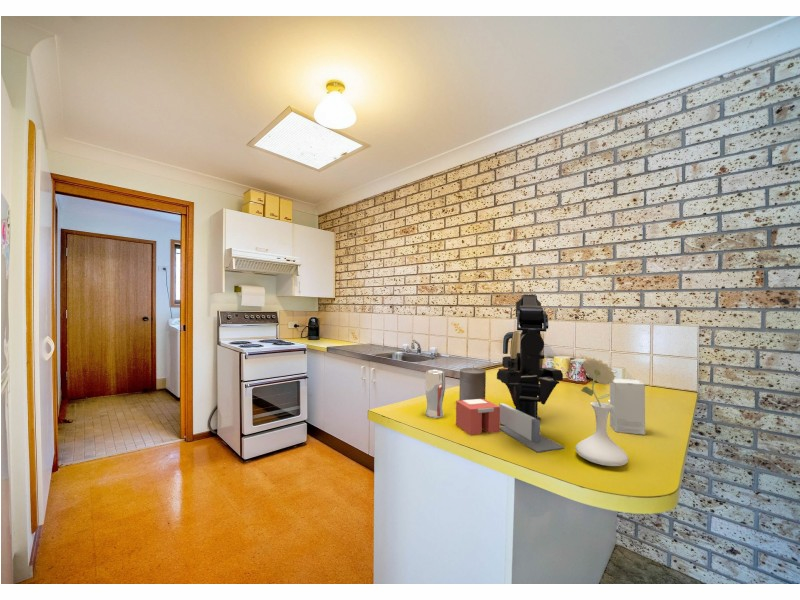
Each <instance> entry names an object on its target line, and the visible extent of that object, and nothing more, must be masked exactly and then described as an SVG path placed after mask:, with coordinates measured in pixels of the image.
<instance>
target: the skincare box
mask: <svg viewBox="0 0 800 600" xmlns="http://www.w3.org/2000/svg"><path fill="white" fill-rule="evenodd" d="M612 381H613V382H614V383H610V384H609V394H611V393H612V394H611V395H609V399H610V402H609V404H610V405H612V406H613V408H612V409H611V410H610V412H609V426H610V427H611V429H612V430H613V431H614V432H616V433H621V434H622V433H625V434H631V435H632V434H634V435H641V436H643V435H644V436H645V435H646V383H644V382H643V381H641V380H639V379H628V378H616V377H614V380H612Z"/></svg>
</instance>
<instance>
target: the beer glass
mask: <svg viewBox="0 0 800 600" xmlns="http://www.w3.org/2000/svg"><path fill="white" fill-rule="evenodd" d="M424 389H425V397H426V399H425V400H426V409H425V410H426V411H425V416H426V417H428V418H430V419H440V418H443V417H444V410H443V402H444V397H445V392H446V371H444V370H442V369H441V370H440V369H428V370H425V376H424Z"/></svg>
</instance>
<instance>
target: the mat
mask: <svg viewBox="0 0 800 600" xmlns="http://www.w3.org/2000/svg"><path fill="white" fill-rule="evenodd" d="M500 431H501V432H502V433H504V434H505V435H507V436H508V437H511V438H512V439H514V440H515V441H517V442H519V443H520V444H522V445H524V446H525V447H527V448H529V449H530V450H532V451H533V452H534V453H535V452H536V453H543V452H550V451H559V450H564V449H565V447H564V446H562V445H561V444H559V443H557V442H556V441H553V440H552V439H549V438H548V437H546V436H544V435H542V434H540V442H538V443H534V442H533V441H531V440H529V439H527V438H526V437H524V436H522V435H520V434H519V433H517V432H515V431H513V430H512V429H510V428H508V427H506V426H505V425H502V426H501V425H500ZM565 450H566V449H565Z"/></svg>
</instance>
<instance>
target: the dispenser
mask: <svg viewBox="0 0 800 600" xmlns="http://www.w3.org/2000/svg"><path fill="white" fill-rule="evenodd" d="M500 424H501V423H500V407H499V405H497V404H495V403H494V402H491V401H489V400H487V399H486V398H485V399H473V400H461V401H459V400H456V403H455V425H456V426H457V427H459V428H460V429H461V430H462V431H464V432H466V433H467V434H468V435H469V436H474V435H475V436H476V435H482V432H483V431H485V432H487V433H488V434H494V433H500V431H501V430H500V426H501V425H500Z"/></svg>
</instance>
